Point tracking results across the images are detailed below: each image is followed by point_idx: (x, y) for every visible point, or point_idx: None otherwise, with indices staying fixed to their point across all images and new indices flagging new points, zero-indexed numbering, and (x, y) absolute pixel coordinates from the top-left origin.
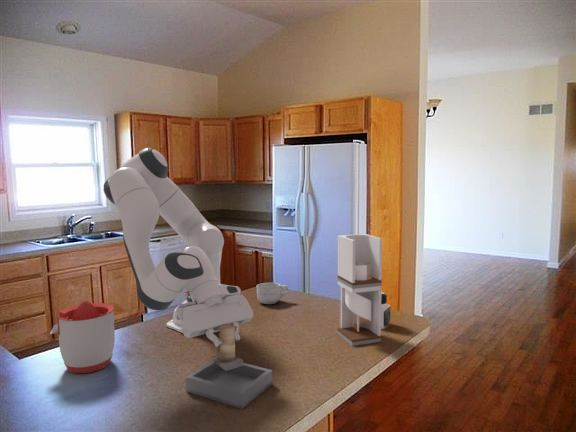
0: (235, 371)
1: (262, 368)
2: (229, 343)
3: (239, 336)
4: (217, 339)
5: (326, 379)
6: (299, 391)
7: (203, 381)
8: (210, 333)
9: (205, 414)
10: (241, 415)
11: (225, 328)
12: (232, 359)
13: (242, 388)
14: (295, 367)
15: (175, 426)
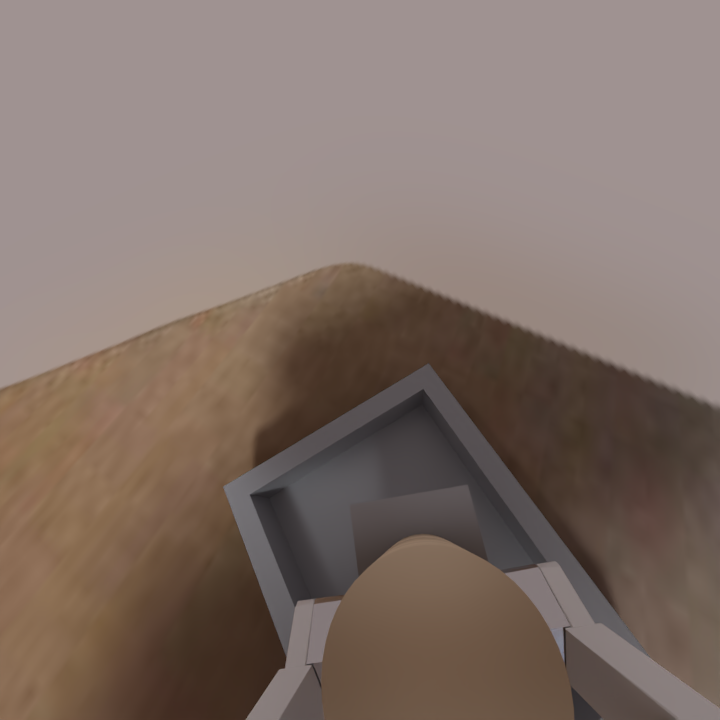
0: None
1: (247, 530)
2: (433, 538)
3: (298, 611)
4: (566, 606)
5: (88, 420)
6: (210, 395)
7: (574, 566)
8: (707, 708)
9: (560, 417)
10: (441, 356)
11: (480, 627)
12: (409, 535)
13: (379, 497)
14: (85, 582)
15: (681, 397)
